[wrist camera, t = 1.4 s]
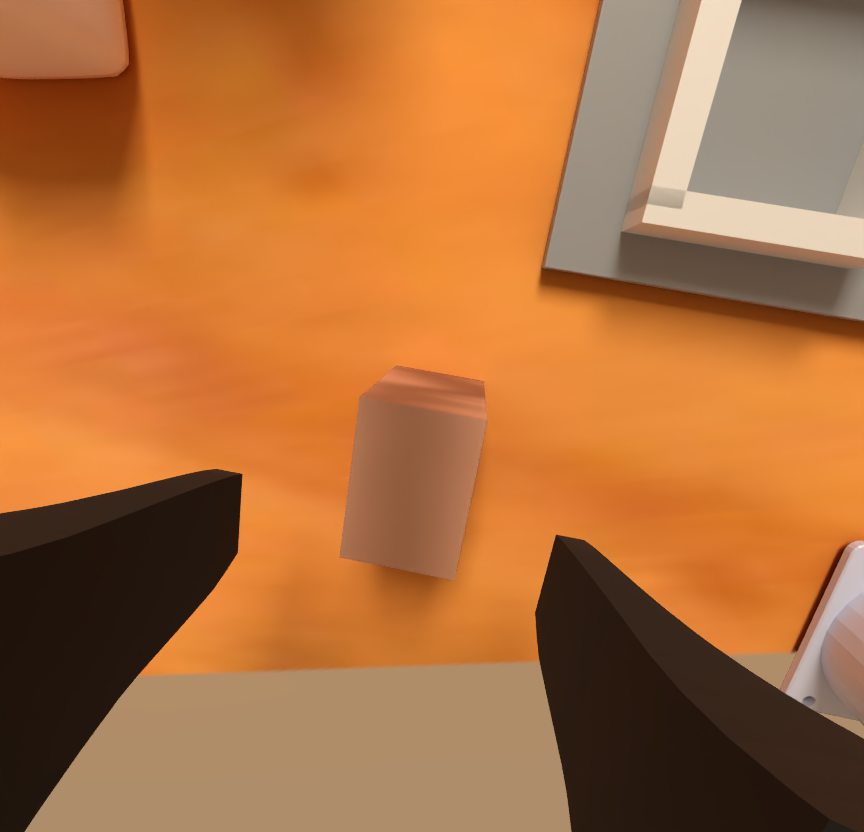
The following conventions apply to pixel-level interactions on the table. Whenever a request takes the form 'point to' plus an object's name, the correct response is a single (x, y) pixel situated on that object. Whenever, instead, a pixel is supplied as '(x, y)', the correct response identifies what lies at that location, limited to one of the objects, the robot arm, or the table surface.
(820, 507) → the table surface
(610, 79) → the grey framed tray
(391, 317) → the table surface
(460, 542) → the block
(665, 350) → the table surface
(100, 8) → the power adapter
